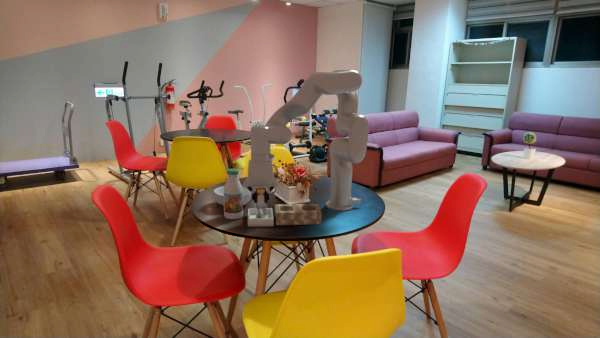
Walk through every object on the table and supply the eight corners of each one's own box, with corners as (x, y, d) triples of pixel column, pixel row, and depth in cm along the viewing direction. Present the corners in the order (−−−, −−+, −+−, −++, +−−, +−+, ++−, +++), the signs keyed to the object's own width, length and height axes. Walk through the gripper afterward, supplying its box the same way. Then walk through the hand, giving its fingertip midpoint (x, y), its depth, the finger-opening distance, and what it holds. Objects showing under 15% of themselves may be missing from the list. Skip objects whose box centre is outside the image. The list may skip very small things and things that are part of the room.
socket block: (317, 214, 158) (317, 201, 156) (321, 224, 148) (321, 209, 147) (274, 215, 156) (274, 202, 154) (276, 225, 146) (276, 210, 145)
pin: (265, 214, 152) (265, 186, 149) (265, 218, 148) (265, 189, 145) (255, 214, 151) (255, 186, 148) (255, 218, 148) (255, 189, 145)
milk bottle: (220, 216, 154) (219, 169, 149) (235, 211, 159) (235, 166, 154) (231, 221, 148) (230, 173, 143) (246, 216, 154) (246, 170, 149)
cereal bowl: (249, 212, 159) (249, 196, 157) (210, 211, 159) (209, 195, 157) (253, 199, 175) (253, 185, 174) (218, 198, 175) (218, 184, 173)
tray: (272, 214, 156) (272, 208, 156) (273, 226, 145) (273, 218, 144) (248, 215, 155) (248, 208, 154) (247, 226, 144) (247, 219, 143)
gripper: (281, 155, 148) (281, 198, 153) (239, 155, 146) (239, 199, 151) (282, 159, 141) (282, 205, 146) (238, 159, 139) (239, 205, 144)
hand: (260, 201), depth 148 cm, fingers closed on pin, 4 cm apart
